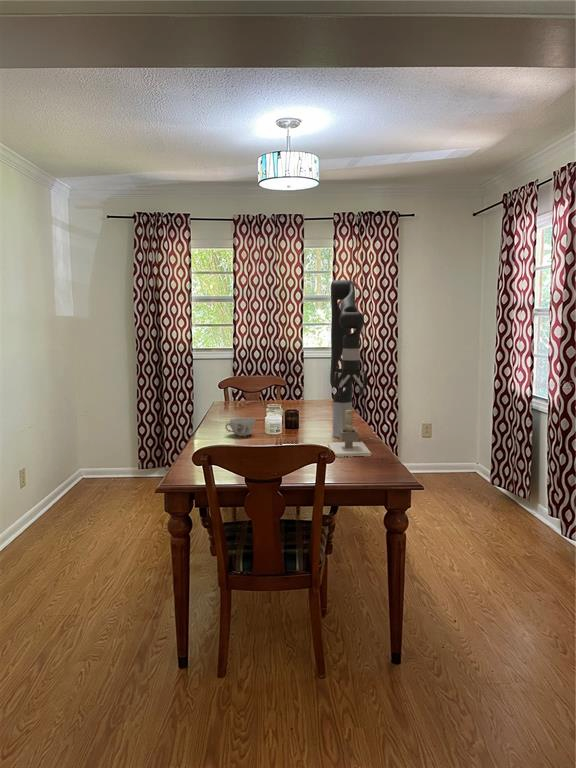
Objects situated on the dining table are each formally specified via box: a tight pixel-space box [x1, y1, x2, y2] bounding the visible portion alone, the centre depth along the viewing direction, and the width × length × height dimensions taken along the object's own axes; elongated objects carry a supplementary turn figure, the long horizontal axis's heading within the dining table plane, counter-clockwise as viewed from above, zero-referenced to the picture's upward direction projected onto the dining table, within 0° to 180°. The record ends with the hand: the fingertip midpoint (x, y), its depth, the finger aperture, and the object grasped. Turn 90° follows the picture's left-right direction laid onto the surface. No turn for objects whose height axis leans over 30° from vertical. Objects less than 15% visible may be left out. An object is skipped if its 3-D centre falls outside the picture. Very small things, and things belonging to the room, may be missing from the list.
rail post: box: [345, 409, 354, 432], centre depth 256 cm, size 3×3×12 cm
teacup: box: [225, 417, 256, 437], centre depth 288 cm, size 15×12×8 cm
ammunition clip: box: [274, 435, 299, 446], centre depth 232 cm, size 11×2×12 cm, turn 117°
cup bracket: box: [327, 428, 372, 458], centre depth 257 cm, size 20×16×9 cm
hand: (350, 395), depth 254 cm, fingers open, 8 cm apart
